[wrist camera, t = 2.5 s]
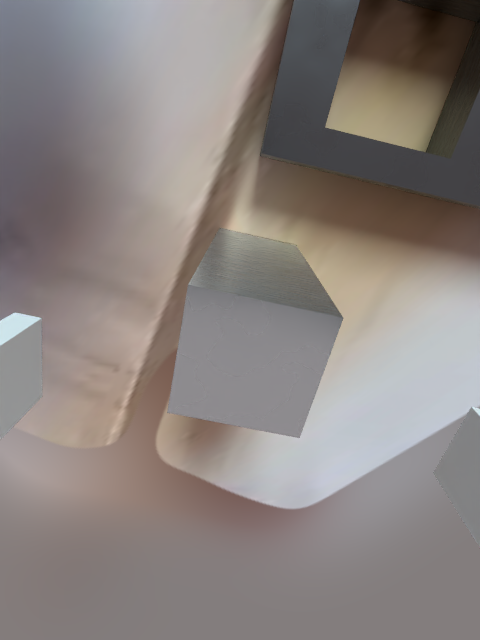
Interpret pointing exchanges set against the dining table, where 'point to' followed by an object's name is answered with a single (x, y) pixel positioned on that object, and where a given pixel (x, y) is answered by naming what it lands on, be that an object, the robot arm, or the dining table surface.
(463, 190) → the dark grey flat frame
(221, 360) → the solid steel block
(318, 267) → the dining table surface
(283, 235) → the dining table surface
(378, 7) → the dining table surface
